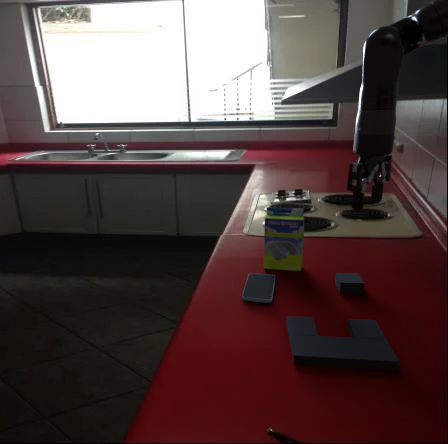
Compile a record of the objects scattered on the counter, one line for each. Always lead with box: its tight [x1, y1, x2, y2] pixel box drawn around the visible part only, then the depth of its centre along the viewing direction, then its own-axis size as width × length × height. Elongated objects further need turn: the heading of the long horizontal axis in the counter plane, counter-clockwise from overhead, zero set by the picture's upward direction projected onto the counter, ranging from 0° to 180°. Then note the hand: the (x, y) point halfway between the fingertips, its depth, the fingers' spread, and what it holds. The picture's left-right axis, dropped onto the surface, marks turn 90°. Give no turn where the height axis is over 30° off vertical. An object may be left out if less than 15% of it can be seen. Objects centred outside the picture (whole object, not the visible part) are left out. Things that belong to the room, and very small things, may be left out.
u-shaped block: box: [285, 315, 400, 372], centre depth 83 cm, size 18×14×2 cm
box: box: [262, 206, 305, 272], centre depth 116 cm, size 10×4×17 cm, turn 73°
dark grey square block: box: [334, 272, 366, 295], centre depth 104 cm, size 6×6×3 cm
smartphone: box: [241, 272, 276, 304], centre depth 107 cm, size 7×1×15 cm
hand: (366, 205), depth 93 cm, fingers open, 8 cm apart
